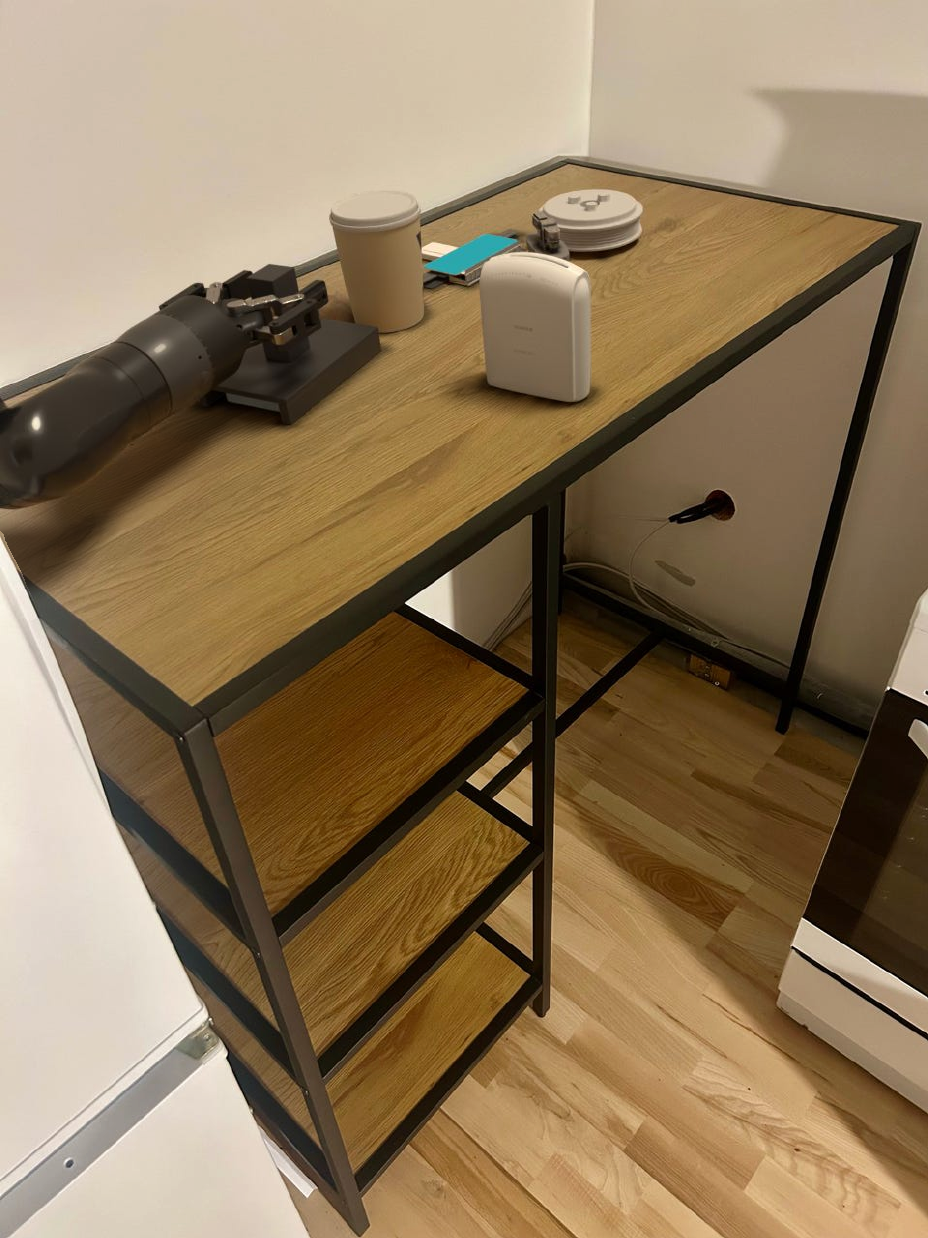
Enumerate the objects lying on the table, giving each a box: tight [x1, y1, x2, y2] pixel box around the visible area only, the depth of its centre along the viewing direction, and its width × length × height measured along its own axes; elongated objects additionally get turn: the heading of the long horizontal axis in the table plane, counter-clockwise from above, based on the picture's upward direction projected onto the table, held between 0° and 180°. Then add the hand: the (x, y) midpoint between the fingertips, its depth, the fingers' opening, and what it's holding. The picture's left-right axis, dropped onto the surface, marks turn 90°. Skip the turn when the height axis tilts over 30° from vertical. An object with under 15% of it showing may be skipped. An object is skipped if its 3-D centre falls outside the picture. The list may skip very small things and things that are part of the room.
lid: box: [537, 188, 644, 253], centre depth 112 cm, size 13×13×5 cm
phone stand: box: [421, 228, 528, 290], centre depth 112 cm, size 20×12×2 cm, turn 141°
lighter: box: [525, 210, 570, 262], centre depth 95 cm, size 8×3×10 cm, turn 14°
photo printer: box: [478, 252, 592, 403], centre depth 82 cm, size 10×4×12 cm, turn 57°
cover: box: [197, 263, 382, 425], centre depth 89 cm, size 16×11×11 cm
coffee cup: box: [328, 189, 425, 334], centre depth 97 cm, size 9×9×12 cm
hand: (286, 284), depth 88 cm, fingers open, 8 cm apart
